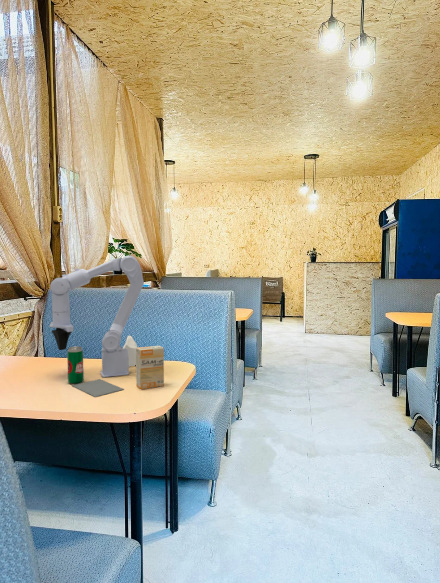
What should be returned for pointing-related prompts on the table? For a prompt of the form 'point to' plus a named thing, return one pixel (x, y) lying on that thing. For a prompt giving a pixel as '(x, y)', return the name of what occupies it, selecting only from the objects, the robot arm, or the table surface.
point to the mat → (97, 387)
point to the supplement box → (149, 367)
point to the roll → (131, 350)
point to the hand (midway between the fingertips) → (62, 349)
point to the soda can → (75, 365)
